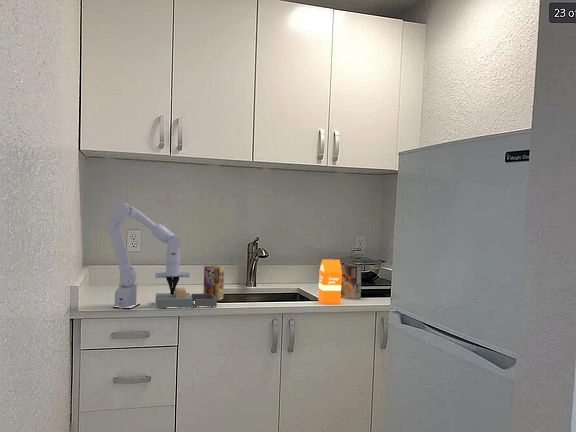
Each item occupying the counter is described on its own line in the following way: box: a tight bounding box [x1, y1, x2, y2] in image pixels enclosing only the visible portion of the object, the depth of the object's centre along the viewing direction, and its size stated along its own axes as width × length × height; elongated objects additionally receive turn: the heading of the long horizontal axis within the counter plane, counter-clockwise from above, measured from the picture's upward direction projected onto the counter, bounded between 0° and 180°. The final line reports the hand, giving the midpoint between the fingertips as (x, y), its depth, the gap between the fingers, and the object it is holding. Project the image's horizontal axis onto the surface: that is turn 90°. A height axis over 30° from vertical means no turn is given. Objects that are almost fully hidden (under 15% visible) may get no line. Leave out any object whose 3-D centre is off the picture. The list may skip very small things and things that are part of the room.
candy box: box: [203, 264, 225, 301], centre depth 238 cm, size 9×4×15 cm, turn 62°
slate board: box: [155, 292, 193, 309], centre depth 222 cm, size 14×13×4 cm
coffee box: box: [340, 263, 363, 300], centre depth 253 cm, size 9×6×16 cm
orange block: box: [174, 287, 187, 297], centre depth 222 cm, size 4×6×3 cm, turn 18°
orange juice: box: [317, 259, 342, 304], centre depth 241 cm, size 8×9×20 cm
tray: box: [190, 292, 218, 308], centre depth 225 cm, size 10×13×4 cm
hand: (172, 294), depth 221 cm, fingers closed
